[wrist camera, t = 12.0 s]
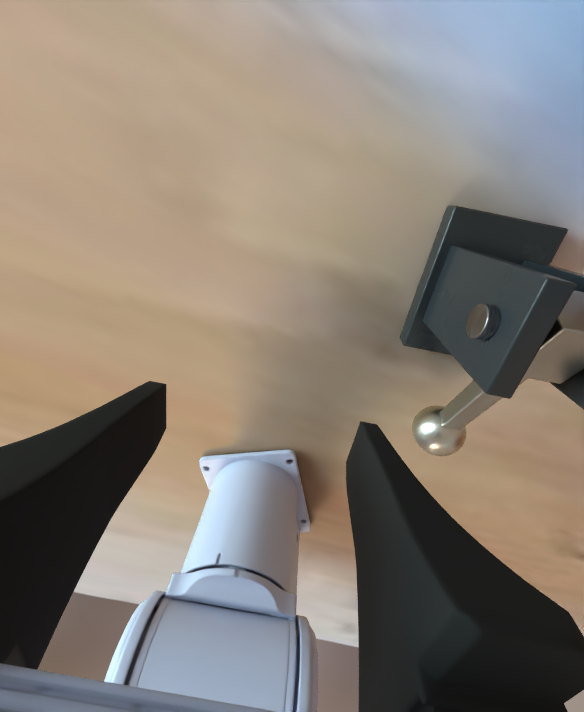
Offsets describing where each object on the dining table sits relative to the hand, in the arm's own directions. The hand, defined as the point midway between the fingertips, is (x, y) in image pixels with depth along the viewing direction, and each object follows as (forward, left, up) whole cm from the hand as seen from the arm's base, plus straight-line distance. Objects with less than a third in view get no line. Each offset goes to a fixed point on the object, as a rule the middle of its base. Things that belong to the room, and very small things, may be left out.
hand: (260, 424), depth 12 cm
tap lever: (-2, -10, -6) cm, 12 cm away
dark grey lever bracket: (+1, -11, -10) cm, 16 cm away
